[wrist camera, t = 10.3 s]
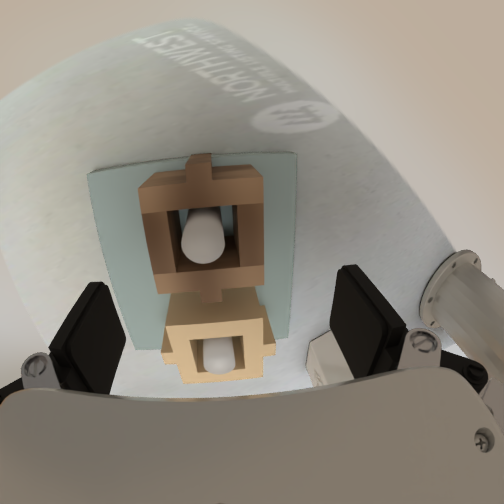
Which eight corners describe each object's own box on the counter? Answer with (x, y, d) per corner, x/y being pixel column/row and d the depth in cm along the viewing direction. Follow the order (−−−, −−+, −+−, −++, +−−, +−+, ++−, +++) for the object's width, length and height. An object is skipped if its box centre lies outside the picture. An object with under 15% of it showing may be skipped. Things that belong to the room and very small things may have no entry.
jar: (309, 327, 29) (349, 417, 19) (372, 316, 30) (422, 389, 20) (301, 376, 33) (328, 453, 23) (356, 363, 34) (391, 431, 24)
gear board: (291, 151, 21) (329, 166, 14) (284, 328, 29) (303, 382, 22) (93, 170, 19) (47, 195, 12) (137, 340, 27) (126, 395, 20)
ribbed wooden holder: (250, 150, 19) (263, 159, 14) (253, 262, 23) (264, 297, 18) (153, 159, 18) (135, 171, 14) (169, 269, 22) (161, 306, 18)
